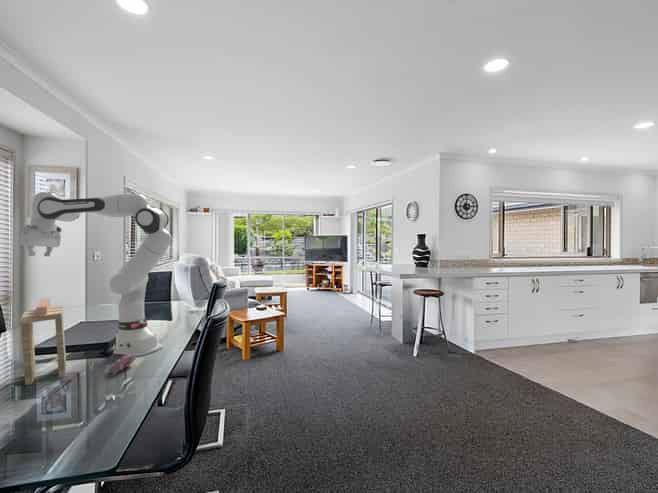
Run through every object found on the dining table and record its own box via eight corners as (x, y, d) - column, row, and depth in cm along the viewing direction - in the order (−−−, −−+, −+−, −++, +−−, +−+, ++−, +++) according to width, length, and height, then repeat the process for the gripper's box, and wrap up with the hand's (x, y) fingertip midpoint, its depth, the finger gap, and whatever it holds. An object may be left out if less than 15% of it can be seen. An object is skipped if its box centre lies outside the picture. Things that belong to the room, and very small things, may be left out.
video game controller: (114, 378, 135) (120, 363, 134) (106, 372, 136) (111, 358, 135) (133, 368, 145) (139, 354, 144) (125, 362, 146) (130, 349, 145)
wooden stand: (29, 372, 139) (25, 310, 137) (66, 364, 146) (62, 306, 145) (24, 386, 126) (20, 318, 125) (65, 377, 133) (61, 313, 132)
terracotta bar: (41, 305, 147) (41, 298, 147) (50, 304, 149) (49, 298, 148) (36, 315, 129) (36, 307, 129) (46, 314, 131) (46, 306, 131)
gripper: (32, 224, 146) (29, 256, 146) (64, 229, 167) (61, 256, 166) (16, 223, 146) (13, 255, 145) (50, 228, 166) (48, 256, 165)
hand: (39, 256), depth 156 cm, fingers open, 8 cm apart
